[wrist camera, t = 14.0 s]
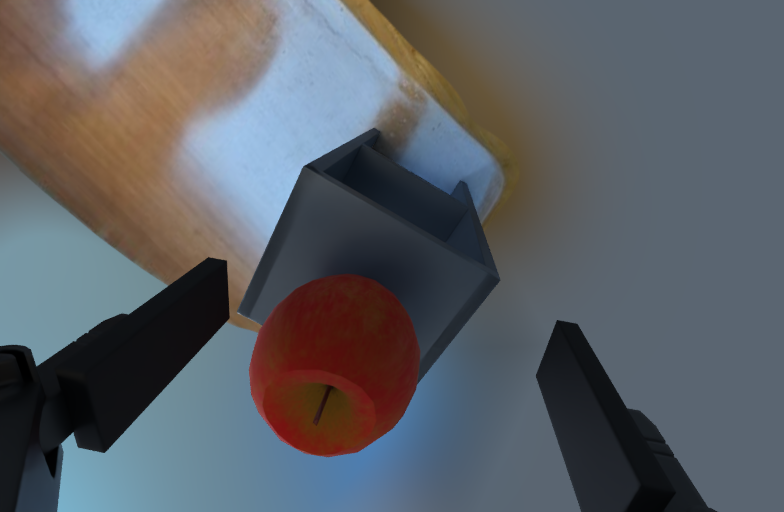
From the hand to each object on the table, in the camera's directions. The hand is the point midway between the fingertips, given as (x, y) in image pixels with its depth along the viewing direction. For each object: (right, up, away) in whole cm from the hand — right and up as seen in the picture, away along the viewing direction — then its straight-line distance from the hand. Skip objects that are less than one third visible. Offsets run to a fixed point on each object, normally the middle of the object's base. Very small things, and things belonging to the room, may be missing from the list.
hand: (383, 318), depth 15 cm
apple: (-2, 0, +11) cm, 11 cm away
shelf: (+1, +11, +36) cm, 38 cm away
